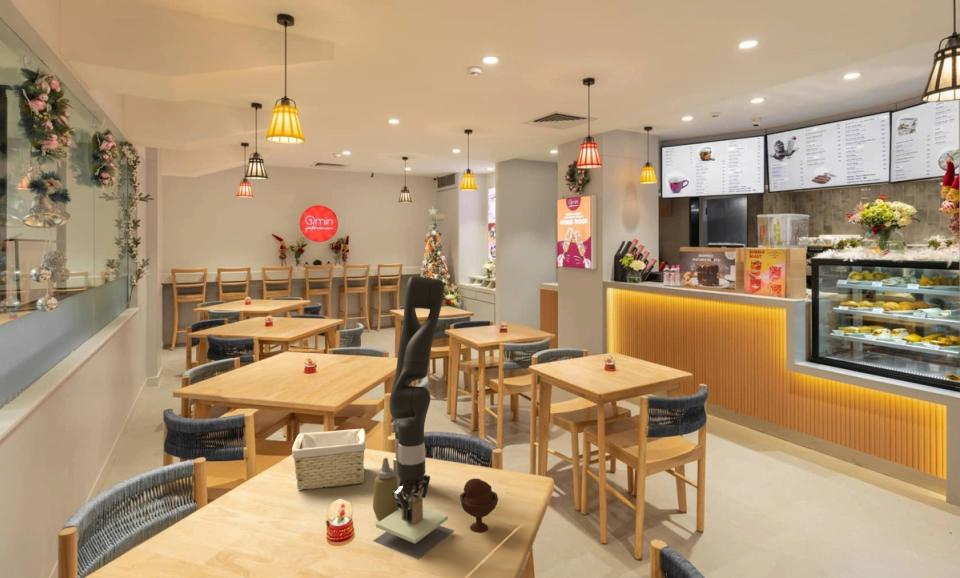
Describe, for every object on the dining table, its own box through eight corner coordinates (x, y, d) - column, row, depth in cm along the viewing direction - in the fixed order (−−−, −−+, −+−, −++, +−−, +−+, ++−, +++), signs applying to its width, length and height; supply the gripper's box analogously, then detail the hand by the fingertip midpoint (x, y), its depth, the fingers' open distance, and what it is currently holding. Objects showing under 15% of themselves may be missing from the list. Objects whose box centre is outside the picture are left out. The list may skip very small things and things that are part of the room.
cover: (375, 527, 142) (375, 502, 141) (409, 505, 154) (409, 482, 153) (415, 543, 134) (414, 517, 134) (447, 519, 146) (447, 495, 145)
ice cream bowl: (495, 541, 142) (494, 488, 141) (455, 537, 144) (454, 484, 143) (501, 521, 152) (501, 471, 151) (464, 517, 154) (463, 468, 153)
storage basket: (292, 493, 171) (290, 449, 169) (298, 472, 186) (297, 432, 185) (366, 485, 176) (365, 443, 174) (366, 466, 191) (365, 427, 190)
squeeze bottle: (405, 512, 157) (404, 455, 156) (392, 526, 150) (390, 465, 148) (381, 508, 160) (380, 451, 159) (367, 521, 152) (366, 462, 151)
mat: (372, 542, 142) (372, 540, 142) (410, 516, 155) (410, 515, 155) (418, 560, 133) (418, 559, 133) (454, 532, 147) (454, 530, 146)
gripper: (417, 446, 150) (418, 503, 152) (383, 463, 138) (384, 525, 140) (438, 452, 146) (438, 510, 148) (404, 470, 134) (405, 534, 136)
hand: (412, 517), depth 144 cm, fingers closed on cover, 3 cm apart
